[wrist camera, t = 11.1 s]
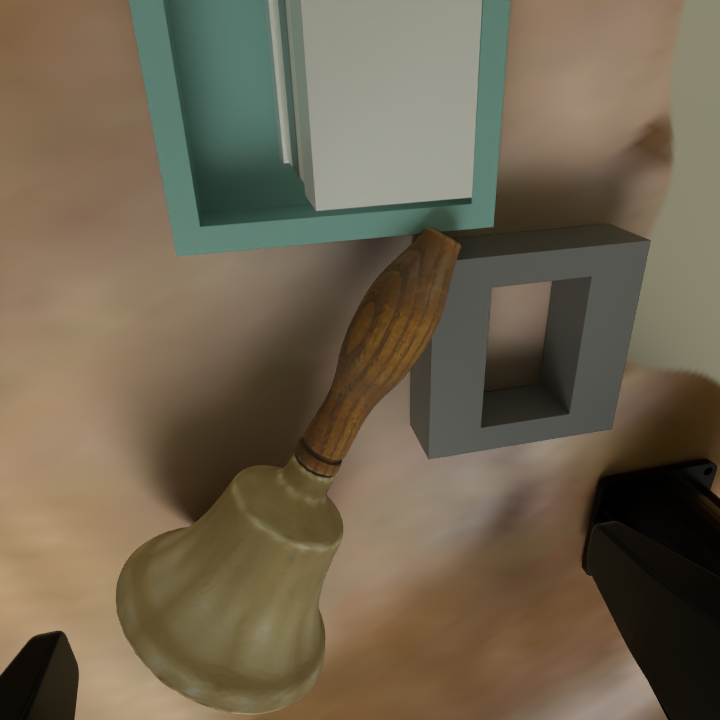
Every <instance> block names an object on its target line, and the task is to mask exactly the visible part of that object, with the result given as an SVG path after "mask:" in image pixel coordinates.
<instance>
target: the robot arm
mask: <svg viewBox="0 0 720 720" xmlns="http://www.w3.org/2000/svg"><path fill="white" fill-rule="evenodd" d="M716 470H717V466H716V464H714V463H713V462H712V461H711V460H709V459H701V460H696V461H690V462H684V463H679V464H673V465H668V466H662V467H657V468H651V469H646V470H640V471H635V472H629V473H624V474H618V475H613V476H608V477H605V478H603V479H602V480H601V481H600V482H599V484H598V488H597V493H596V498H595V502H594V507H593V512H592V517H591V522H590V527H589V532H588V537H587V542H586V547H585V552H584V557H583V562H582V568H583V570H584V571H585V572H586V574H587V575H589V576H592V577H593V579H594V581H595V583H596V585H597V587H598V589H599V591H600V593H601V595H602V597H603V599H604V601H605V603H606V605H607V607H608V609H609V611H610V613H611V615H612V617H613V619H614V621H615V623H616V625H617V627H618V629H619V631H620V633H621V635H622V637H623V639H624V641H625V643H626V645H627V647H628V649H629V650H630V652H631V654H632V655H633V657H634V659H635V661H636V662H637V664H638V666H639V667H640V669H641V670H642V672H643V674H644V675H645V677H646V678H647V680H648V682H649V684H650V686H651V688H652V690H653V692H654V693H655V695H656V697H657V699H658V701H659V703H660V705H661V707H662V709H663V711H664V713H665V715H666V717H667V719H668V720H720V498H719V497H717V496H716V495H715V494H714V493H713V492H712V491H710V489H711V486H712V483H713V480H714V477H715V473H716ZM78 680H79V671H78V664H77V661H76V659H75V656H74V654H73V652H72V649H71V647H70V644H69V642H68V639H67V637H66V635H65V633H63V632H62V631H54V632H49V633H44V634H39V635H36V636H34V637H32V638H31V639H30V640H29V641H28V642H27V643H26V645H25V646H24V647H23V648H22V650H21V651H20V652H19V653H18V654H17V656H16V657H15V658H14V659H13V661H12V662H11V663H10V664H9V665H8V667H7V668H6V669H5V670H4V672H3V673H2V674H1V675H0V720H74V718H75V709H76V699H77V690H78Z"/></svg>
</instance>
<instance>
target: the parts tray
mask: <svg viewBox="0 0 720 720" xmlns="http://www.w3.org/2000/svg"><path fill="white" fill-rule="evenodd" d="M510 1H511V0H482V14H481V34H480V53H479V72H478V91H477V110H476V129H475V149H474V168H473V187H472V197H471V198H459V199H448V200H437V201H425V202H414V203H402V204H391V205H379V206H368V207H356V208H345V209H333V210H322V211H316V210H315V209H314V207H313V206H312V204H311V203H310V201H309V200H308V198H307V197H306V195H305V185H304V182H303V180H302V179H301V178H299V177H298V176H297V174H296V173H295V171H294V170H293V167H292V166H291V164H290V163H283V161H282V160H281V158H280V157H279V151H278V141H277V131H276V121H275V111H274V101H273V90H272V80H271V70H270V60H269V50H268V40H267V29H266V19H265V9H264V0H129V4H130V10H131V15H132V20H133V26H134V31H135V36H136V42H137V47H138V52H139V58H140V63H141V68H142V74H143V79H144V84H145V90H146V95H147V100H148V106H149V111H150V117H151V122H152V127H153V133H154V138H155V143H156V149H157V154H158V159H159V165H160V170H161V175H162V181H163V186H164V191H165V197H166V202H167V207H168V213H169V218H170V223H171V229H172V234H173V240H174V245H175V250H176V256H185V255H196V254H207V253H217V252H228V251H239V250H250V249H261V248H271V247H282V246H293V245H304V244H315V243H325V242H336V241H347V240H358V239H369V238H380V237H390V236H401V235H412V234H421V233H422V232H423V231H424V229H425V228H426V227H428V226H429V227H432V228H434V229H436V230H438V231H440V232H444V231H455V230H466V229H477V228H488V227H494V214H495V200H496V187H497V174H498V160H499V147H500V134H501V121H502V107H503V94H504V81H505V68H506V54H507V41H508V28H509V15H510Z"/></svg>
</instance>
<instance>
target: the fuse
mask: <svg viewBox="0 0 720 720" xmlns="http://www.w3.org/2000/svg"><path fill="white" fill-rule="evenodd" d="M264 9H265V19H266V29H267V40H268V50H269V60H270V70H271V80H272V90H273V101H274V111H275V121H276V131H277V141H278V151H279V157H280V158H281V160H282V161H283V163H290V164H291V166H292V167H293V170H294V171H295V173H296V174H297V176H298V177H299V178H301V179H302V180H303V182H304V185H305V195H306V197H307V198H308V200H309V201H310V203H311V204H312V206H313V207H314V209H315V210H316V211H322V210H333V209H345V208H356V207H368V206H379V205H391V204H402V203H414V202H425V201H437V200H448V199H459V198H471V197H472V187H473V168H474V149H475V129H476V110H477V91H478V72H479V53H480V34H481V14H482V0H264Z"/></svg>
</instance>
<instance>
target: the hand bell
mask: <svg viewBox="0 0 720 720" xmlns="http://www.w3.org/2000/svg"><path fill="white" fill-rule="evenodd" d="M460 249H461V244H460V243H458V242H457V241H455V240H454V239H452V238H450V237H449V236H447V235H445V234H443V233H441V232H440V231H438V230H436V229H434V228H432V227H429V226H428V227H426V228H425V229H424V231H423V232H422V233H421V234H420V236H419V237H418V238H417V239H416V240H415V241H414V242H413V243H412V244H411V245H410V246H409V247H408V248H407V249H406V250H405V251H404V252H403V253H402V254H401V255H400V256H398V257H397V258H396V259H395V260H394V261H393V262H392V263H391V264H390V265H389V266H388V267H387V268H386V269H385V270H384V271H383V272H382V273H381V274H380V275H379V276H378V278H377V279H376V280H375V281H374V283H373V284H372V286H371V287H370V289H369V290H368V292H367V293H366V295H365V296H364V298H363V300H362V302H361V303H360V305H359V307H358V309H357V311H356V313H355V315H354V317H353V319H352V321H351V323H350V325H349V327H348V330H347V333H346V336H345V338H344V341H343V344H342V347H341V351H340V355H339V359H338V365H337V369H336V373H335V377H334V380H333V383H332V386H331V389H330V391H329V393H328V395H327V397H326V399H325V401H324V402H323V404H322V406H321V407H320V409H319V410H318V412H317V414H316V415H315V417H314V419H313V420H312V422H311V423H310V425H309V427H308V428H307V430H306V432H305V434H304V437H303V438H301V439H300V440H299V442H298V443H297V445H296V446H295V449H294V452H295V453H294V454H293V455H292V457H291V458H290V460H289V461H288V463H287V464H286V466H285V467H284V468H280V467H277V466H270V465H256V466H251V467H248V468H246V469H244V470H242V471H241V472H240V473H238V474H237V475H236V476H235V477H234V479H233V480H232V481H231V483H230V484H229V486H228V487H227V488H226V490H225V491H224V492H223V494H222V495H221V496H220V497H219V498H218V500H217V501H216V502H215V503H214V504H213V505H212V507H211V508H210V509H209V510H208V511H207V512H206V513H205V514H204V515H203V516H202V517H201V518H200V519H199V520H198V521H197V522H195V523H194V524H192V525H191V526H189V527H185V528H179V529H175V530H172V531H168V532H165V533H163V534H160V535H158V536H156V537H154V538H153V539H151V540H149V541H147V542H146V543H144V544H143V545H142V546H140V547H139V548H138V549H137V550H136V551H135V552H134V553H133V554H132V555H131V556H130V557H129V558H128V560H127V561H126V563H125V565H124V567H123V568H122V571H121V573H120V576H119V579H118V582H117V588H116V606H117V614H118V618H119V621H120V624H121V627H122V629H123V632H124V634H125V637H126V638H127V640H128V641H129V643H130V645H131V646H132V648H133V649H134V651H135V653H136V655H137V656H138V657H139V658H140V659H141V661H142V662H143V664H144V665H145V666H146V667H147V668H148V669H149V670H150V671H151V672H152V673H153V674H154V675H155V676H156V677H157V678H158V679H159V680H160V681H161V682H162V683H163V684H165V685H166V686H168V687H169V688H171V689H173V690H175V691H177V692H178V693H179V694H181V695H182V696H184V697H186V698H187V699H190V700H192V701H195V702H197V703H199V704H202V705H204V706H206V707H210V708H213V709H216V710H220V711H224V712H228V713H235V714H263V713H268V712H273V711H277V710H280V709H282V708H285V707H287V706H289V705H291V704H293V703H294V702H296V701H298V700H299V699H300V698H301V697H303V696H304V695H305V694H306V693H307V692H308V691H309V690H310V689H311V687H312V686H313V685H314V683H315V682H316V680H317V678H318V676H319V674H320V672H321V669H322V665H323V661H324V653H325V629H324V623H323V620H322V616H321V613H320V610H319V597H320V593H321V589H322V585H323V581H324V578H325V576H326V573H327V571H328V569H329V566H330V564H331V561H332V559H333V557H334V555H335V553H336V551H337V549H338V547H339V545H340V543H341V540H342V536H343V522H342V518H341V515H340V513H339V511H338V509H337V508H336V506H335V505H334V503H333V502H332V501H331V499H330V498H329V497H328V496H327V495H326V493H327V491H328V489H329V487H330V485H331V483H332V482H333V479H334V476H335V474H336V473H337V472H338V470H339V468H340V466H341V462H342V459H343V458H344V457H345V456H346V454H347V452H348V450H349V448H350V446H351V444H352V442H353V440H354V438H355V436H356V435H357V433H358V431H359V429H360V427H361V425H362V424H363V422H364V420H365V419H366V417H367V416H368V414H369V413H370V411H371V410H372V409H373V408H374V406H375V405H376V404H377V403H378V402H379V401H380V400H381V399H382V398H383V397H384V396H385V395H386V394H387V393H388V392H390V391H391V390H392V389H393V388H394V387H395V386H396V385H397V384H398V383H399V382H400V381H401V380H402V379H403V378H404V377H405V375H406V374H407V373H408V372H409V371H410V369H411V368H412V367H413V365H414V364H415V363H416V361H417V360H418V359H419V357H420V356H421V354H422V353H423V351H424V350H425V348H426V346H427V345H428V343H429V341H430V339H431V338H432V336H433V334H434V332H435V330H436V328H437V326H438V324H439V322H440V319H441V317H442V314H443V311H444V308H445V305H446V301H447V297H448V293H449V288H450V283H451V278H452V274H453V270H454V267H455V263H456V260H457V257H458V254H459V251H460Z"/></svg>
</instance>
